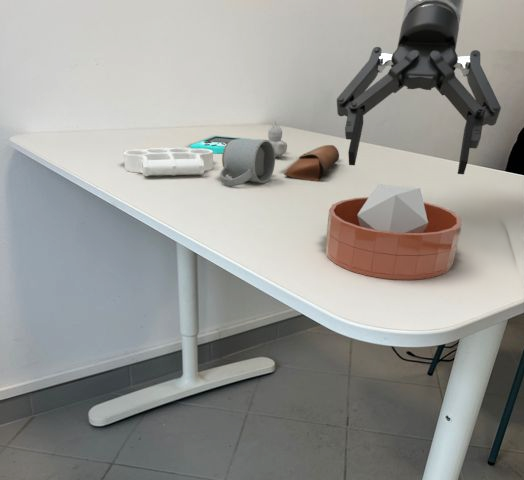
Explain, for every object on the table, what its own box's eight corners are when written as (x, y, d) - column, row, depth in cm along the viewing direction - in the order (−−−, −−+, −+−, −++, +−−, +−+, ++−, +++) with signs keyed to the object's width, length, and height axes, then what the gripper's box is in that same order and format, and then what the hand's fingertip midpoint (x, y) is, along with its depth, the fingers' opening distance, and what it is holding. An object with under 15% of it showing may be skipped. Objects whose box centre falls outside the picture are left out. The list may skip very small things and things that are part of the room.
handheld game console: (188, 150, 128) (188, 144, 127) (214, 140, 141) (214, 134, 141) (228, 154, 126) (228, 148, 125) (250, 143, 139) (250, 138, 138)
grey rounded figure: (278, 154, 127) (280, 117, 123) (292, 159, 122) (294, 121, 118) (258, 155, 125) (259, 118, 121) (271, 161, 120) (273, 122, 116)
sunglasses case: (301, 158, 121) (318, 132, 117) (326, 177, 122) (344, 151, 118) (282, 175, 106) (300, 145, 102) (310, 196, 107) (330, 168, 103)
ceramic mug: (240, 173, 109) (240, 132, 105) (275, 179, 105) (276, 137, 101) (209, 184, 101) (208, 141, 97) (246, 190, 97) (246, 146, 93)
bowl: (452, 243, 75) (460, 204, 72) (452, 288, 61) (463, 241, 59) (337, 230, 79) (341, 192, 76) (314, 268, 65) (317, 224, 63)
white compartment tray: (126, 179, 101) (124, 163, 113) (220, 177, 105) (208, 161, 118) (125, 161, 100) (122, 147, 112) (220, 159, 104) (208, 145, 116)
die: (392, 274, 65) (451, 207, 62) (335, 227, 66) (391, 158, 63) (393, 274, 73) (446, 214, 70) (343, 232, 74) (393, 171, 71)
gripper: (521, 51, 73) (504, 189, 68) (339, 46, 79) (311, 172, 74) (538, 2, 66) (520, 152, 61) (336, 0, 71) (305, 136, 67)
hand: (405, 163), depth 67 cm, fingers open, 13 cm apart
